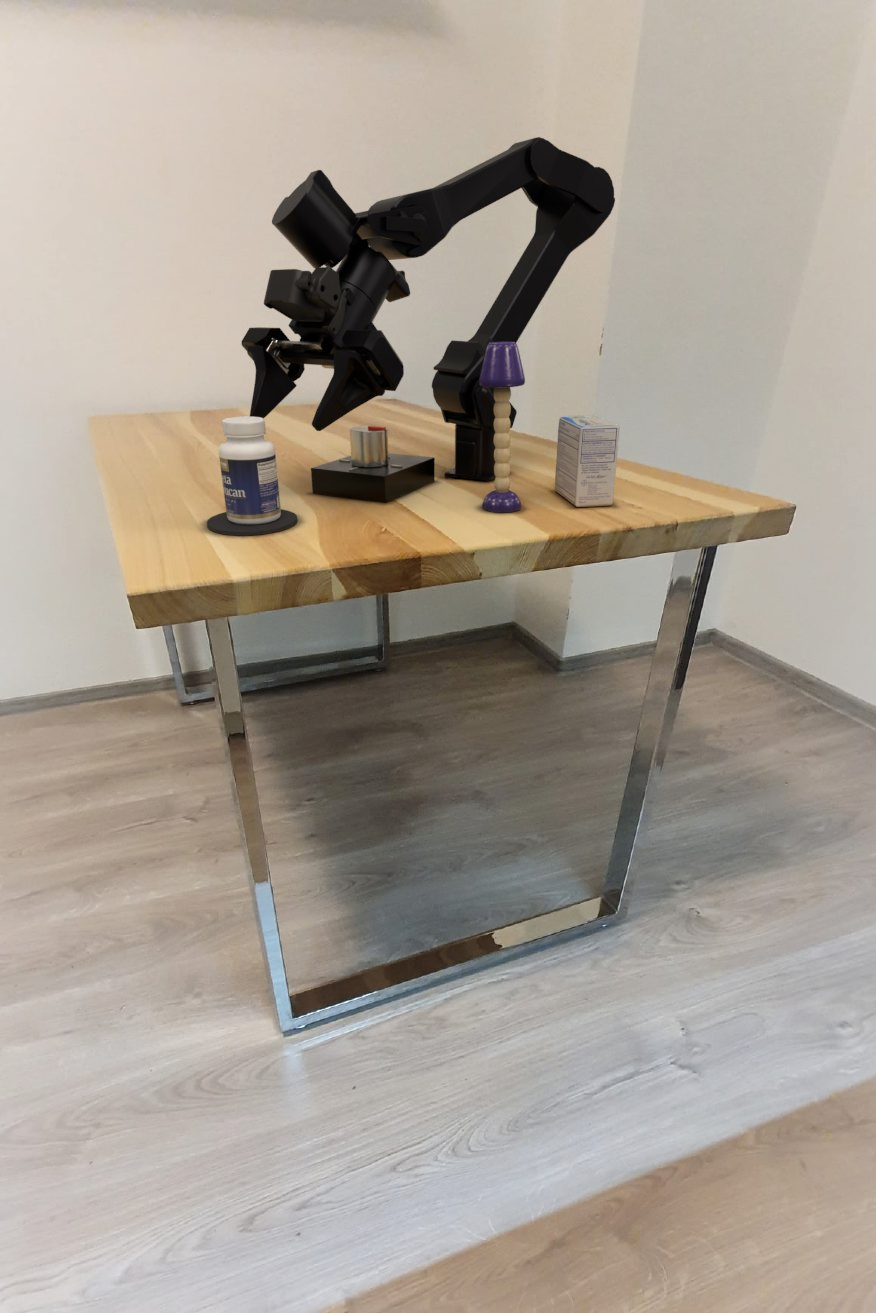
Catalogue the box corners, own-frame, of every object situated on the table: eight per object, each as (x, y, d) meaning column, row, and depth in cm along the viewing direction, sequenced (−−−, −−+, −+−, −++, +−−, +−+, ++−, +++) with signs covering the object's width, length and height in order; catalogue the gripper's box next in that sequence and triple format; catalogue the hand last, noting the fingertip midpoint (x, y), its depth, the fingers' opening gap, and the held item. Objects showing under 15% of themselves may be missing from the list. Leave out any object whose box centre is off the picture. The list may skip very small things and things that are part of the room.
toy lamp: (488, 515, 77) (493, 343, 69) (469, 505, 81) (472, 341, 73) (528, 510, 78) (537, 342, 71) (507, 500, 82) (514, 340, 75)
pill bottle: (215, 521, 73) (201, 421, 69) (251, 509, 77) (240, 413, 73) (257, 528, 71) (245, 425, 67) (292, 515, 75) (283, 417, 71)
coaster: (247, 507, 80) (247, 504, 79) (315, 517, 76) (314, 514, 76) (187, 528, 72) (187, 524, 72) (258, 540, 69) (258, 536, 69)
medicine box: (613, 506, 80) (622, 424, 76) (574, 508, 79) (581, 426, 75) (589, 490, 87) (596, 414, 83) (553, 491, 86) (558, 415, 82)
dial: (344, 465, 85) (342, 427, 83) (364, 458, 89) (362, 422, 87) (376, 468, 83) (375, 430, 81) (395, 462, 87) (394, 424, 85)
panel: (367, 474, 95) (365, 449, 94) (434, 481, 91) (434, 456, 89) (312, 493, 85) (310, 466, 84) (385, 503, 81) (384, 474, 80)
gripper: (244, 242, 75) (170, 364, 72) (380, 232, 65) (300, 373, 62) (306, 323, 84) (243, 434, 81) (434, 325, 74) (367, 452, 71)
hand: (283, 424), depth 74 cm, fingers open, 9 cm apart
